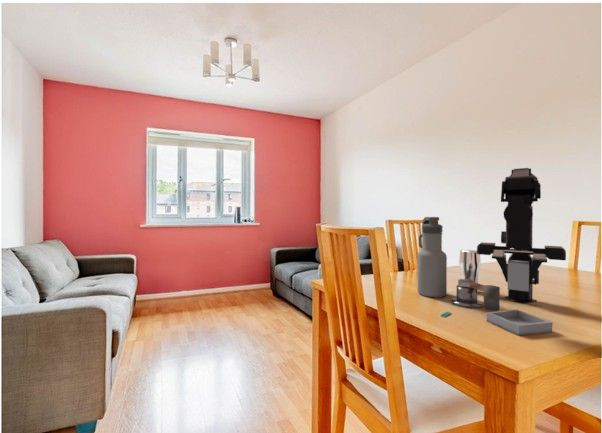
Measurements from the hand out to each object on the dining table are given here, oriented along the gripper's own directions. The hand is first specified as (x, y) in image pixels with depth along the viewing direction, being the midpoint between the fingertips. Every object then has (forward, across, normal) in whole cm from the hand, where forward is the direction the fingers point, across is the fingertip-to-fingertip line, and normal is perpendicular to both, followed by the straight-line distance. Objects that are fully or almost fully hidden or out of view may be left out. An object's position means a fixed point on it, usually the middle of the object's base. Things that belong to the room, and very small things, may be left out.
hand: (518, 283), depth 83 cm
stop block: (+1, 0, 0) cm, 1 cm away
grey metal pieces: (+11, +16, -8) cm, 21 cm away
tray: (+12, 0, 0) cm, 12 cm away
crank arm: (+10, +11, -11) cm, 18 cm away
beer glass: (+12, +16, -32) cm, 37 cm away
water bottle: (+12, +26, -20) cm, 35 cm away
